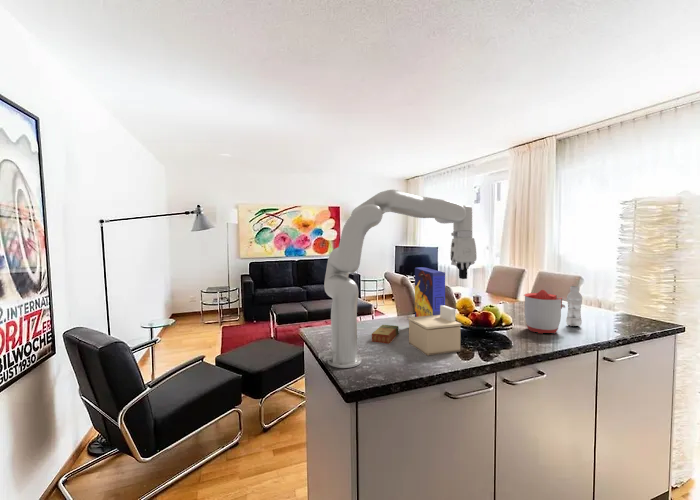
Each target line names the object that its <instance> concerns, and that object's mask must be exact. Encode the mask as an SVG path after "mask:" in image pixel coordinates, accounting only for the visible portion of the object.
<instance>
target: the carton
mask: <svg viewBox="0 0 700 500" xmlns="http://www.w3.org/2000/svg"><path fill="white" fill-rule="evenodd" d="M399 329H400V326H399V325H391V324H381V325H380V326H379V327H378V328H377V329H375V330H374V331H373V332H372V333H371V343H379V344H388V345H389V344H391V343H392V342H393V341H394V340H395V339H396V338H397V337H398V335H399V334H400V332H399Z"/></svg>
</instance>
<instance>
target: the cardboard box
mask: <svg viewBox="0 0 700 500" xmlns="http://www.w3.org/2000/svg"><path fill="white" fill-rule="evenodd" d="M408 344H409V345H410V346H411V347H413V348H414V349H416V350H418V351H419V352H421V353H422V354H423V355H425V356H435V355H442V354H443V355H444V354H450V353H452V354H453V353H457V352H458V353H459V352H461V326H453V327H444V328H434V329H425V328H423V327H422V326H420V325H418V324H416V323H414V322H412V321H410V320H408Z"/></svg>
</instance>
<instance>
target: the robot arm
mask: <svg viewBox="0 0 700 500" xmlns="http://www.w3.org/2000/svg"><path fill="white" fill-rule="evenodd" d="M385 213H395V214H398V215H399V214H400V215H403V216H404V215H405V216H409V217H412V218H416V219H417V218H418V219H434V220H435V221H436V222H437V223H440V224H452V225H453V226H452V227H453V230H452V231H453V232H451V233H450V234H451V237H453V238H452V239H451V244H450V261H451V265H452V266H456V268H457V269H458V279H461V280H467V279H468V270H469V268H470V266H471V265H474V264H475V263H476V261H477V245H476V240H475V238H474V237H473V207H472V206H471V205H467V204H463V205H462V204H461V203H457V202H454V201H450V200H447V199H446V200H445V199H441V198H434V197H428V196H421V195H417V194H413V193H409V192H405V191H401V190H398V189H397V190H396V189H387V190H384V191H383V190H382V191H380V192H378V193H376V194H375V195H373V196H371V197H370V198H369V199H367V200H366V201H364V202H363V203H361V204H360V205H358V206H355V208H354V209H353V210H352V212H351V214H350V216H349V217H348V219H346V221H345V222H344V226H343V228H342V231H341V235H340V238H339V239H340V240H339V244H338V246H337V247H336V248H334V249H333V250H332V251H331V252H330V253H329V256H328V258H327V263H326V271H325V275H324V282H323V283H324V286H323V287H324V292H325V294H326V295H327V296H328V297H329V298H331V299H332V302H331V309H330V323H331V324H330V325H331V326H330V331H331V333H330V336H331V337H330V339H331V340H330V341H331V342H330V347H331V348H329V350H328V351H326V352H319V353H318V359H323V360H324V361H326V360H327V364H328V365H329V366H331V367H333V368H338V369H351V368H355V367H357V366H359V365H360V364H361V363H362V356H360V355H358V319H357V318H358V314H357V313H358V300H359V295H360V294H359V288H358V284H357V283H356V281H354V280H353V279H352V278H350V277H349V275H350V274H353V273H355V272H357V271H358V270H359V267H360V264H361V260H362V259H361V257H362V250H363V246H364V245H363V244H364V240H365V237H366V235H367V233H368V232H369V231H370V229H372V228H374V227H377V226H378V225H380V223H381V222H382V219H383V215H384V214H385Z"/></svg>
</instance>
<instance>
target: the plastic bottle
mask: <svg viewBox="0 0 700 500" xmlns="http://www.w3.org/2000/svg"><path fill="white" fill-rule="evenodd" d="M566 301H567V316H566V319H565V322H566V325H567V326H568V325H570V326H569V327H571V326H580V327H581V326H582V323H583V322H582V314H581V310H582V303H583V296H582V294H581V293H580V287H579V286H574V285H571V286H570V287H569V292H568V294H567V296H566Z"/></svg>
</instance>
